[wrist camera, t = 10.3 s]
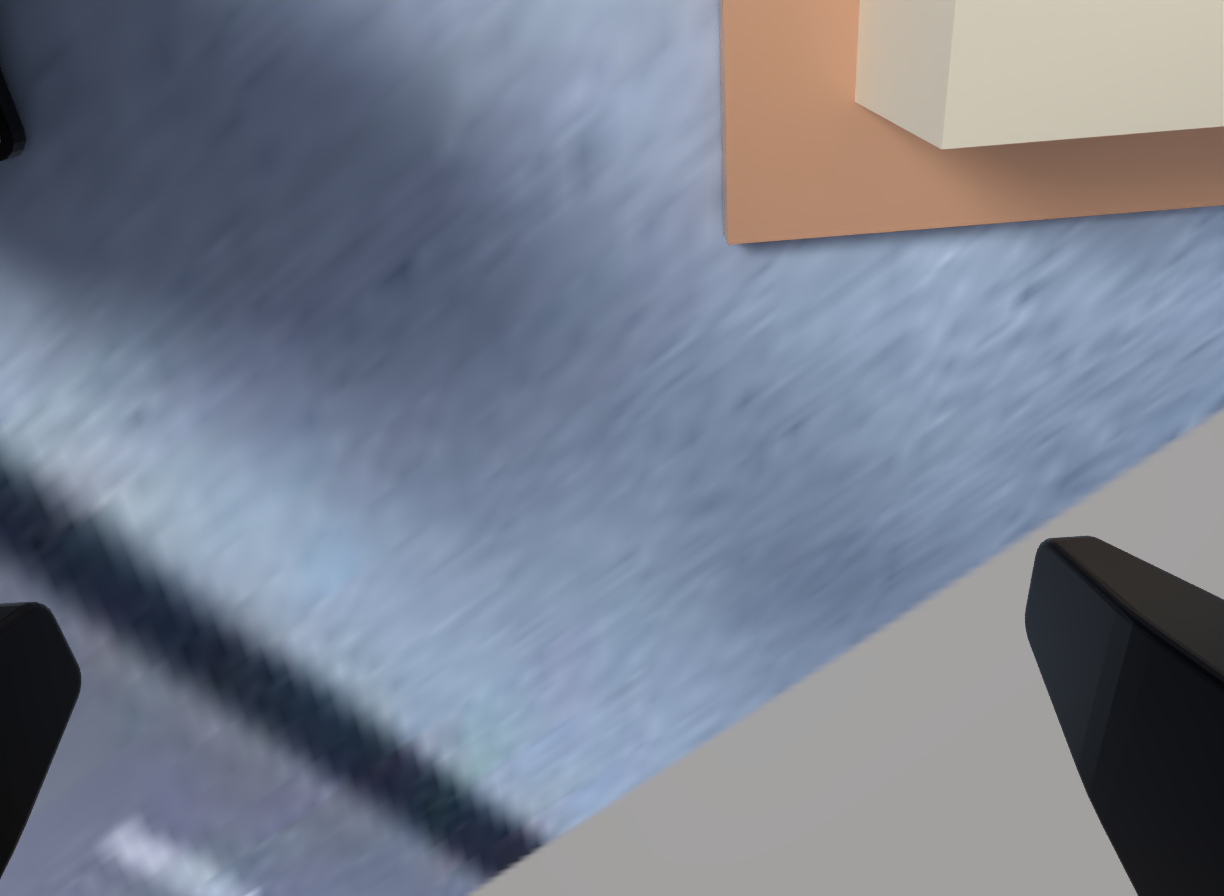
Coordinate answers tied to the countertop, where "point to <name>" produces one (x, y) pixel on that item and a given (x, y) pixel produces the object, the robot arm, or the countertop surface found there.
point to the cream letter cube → (1040, 68)
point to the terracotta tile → (906, 147)
